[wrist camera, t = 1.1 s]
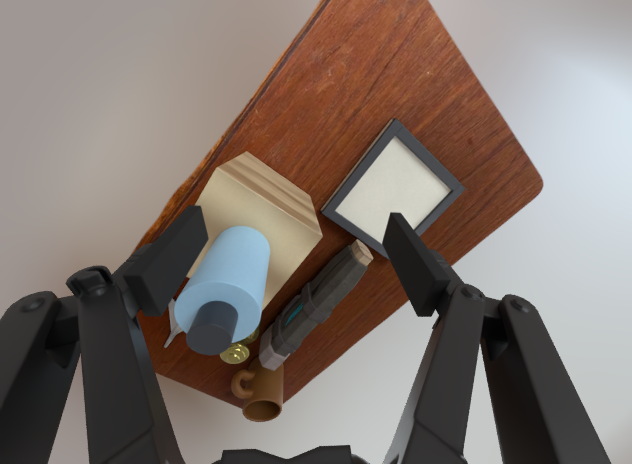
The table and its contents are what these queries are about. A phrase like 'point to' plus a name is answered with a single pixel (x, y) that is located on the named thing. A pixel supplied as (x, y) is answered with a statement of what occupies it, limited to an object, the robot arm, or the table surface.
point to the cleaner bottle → (225, 292)
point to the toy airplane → (172, 324)
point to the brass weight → (240, 348)
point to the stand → (260, 215)
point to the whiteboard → (392, 188)
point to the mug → (259, 391)
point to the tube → (313, 304)
